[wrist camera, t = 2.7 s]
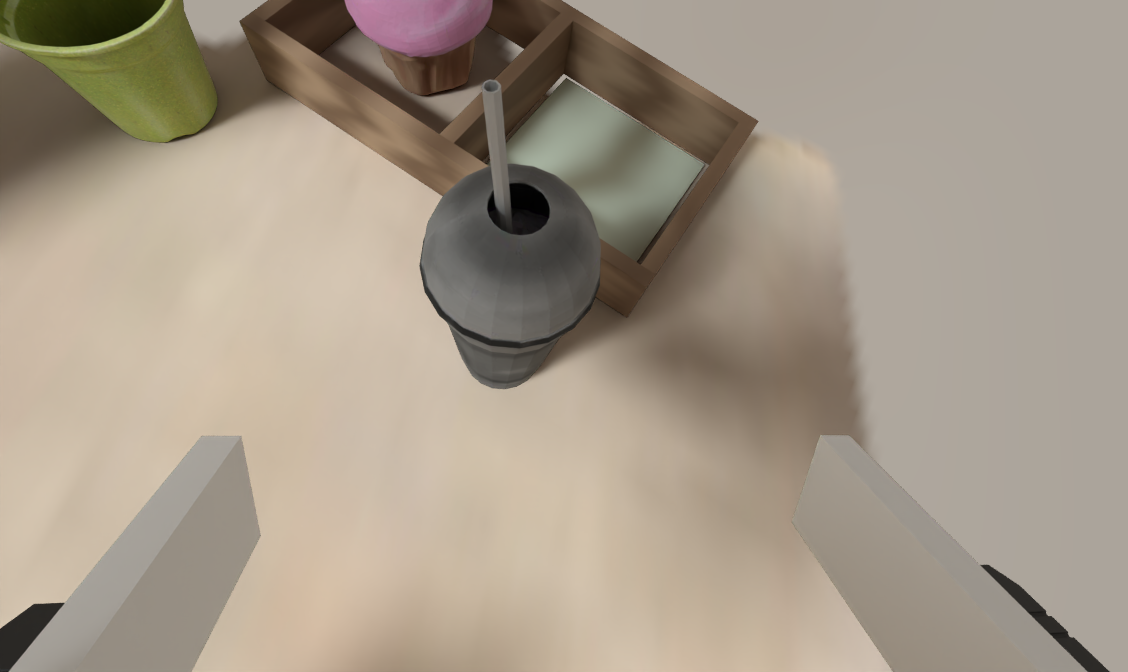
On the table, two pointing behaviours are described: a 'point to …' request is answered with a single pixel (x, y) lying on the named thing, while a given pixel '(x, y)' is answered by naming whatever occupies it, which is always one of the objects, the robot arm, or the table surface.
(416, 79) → the cupcake
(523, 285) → the beverage cup
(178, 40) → the plant pot
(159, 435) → the table surface
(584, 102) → the tray
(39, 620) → the robot arm
